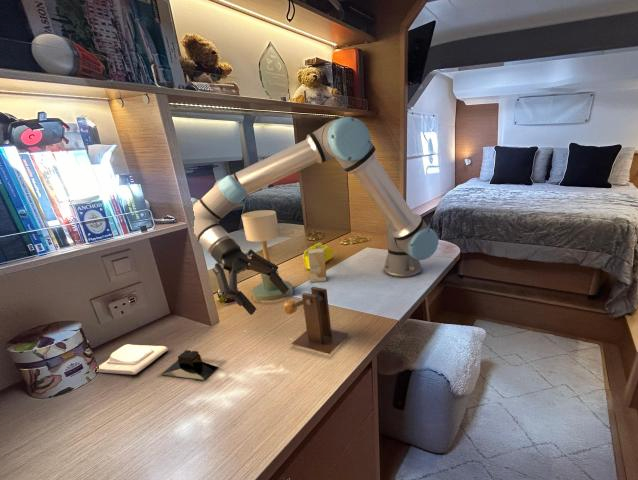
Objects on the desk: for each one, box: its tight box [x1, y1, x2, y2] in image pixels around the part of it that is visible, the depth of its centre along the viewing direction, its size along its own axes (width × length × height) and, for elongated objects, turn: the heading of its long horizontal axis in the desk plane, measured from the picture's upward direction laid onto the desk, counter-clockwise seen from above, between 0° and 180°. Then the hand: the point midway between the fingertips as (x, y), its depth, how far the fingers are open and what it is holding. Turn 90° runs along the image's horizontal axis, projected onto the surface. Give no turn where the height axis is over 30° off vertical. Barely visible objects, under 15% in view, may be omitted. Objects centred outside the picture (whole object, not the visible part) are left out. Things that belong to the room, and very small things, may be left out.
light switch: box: [95, 343, 169, 376], centre depth 89 cm, size 11×4×13 cm
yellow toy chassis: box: [302, 241, 333, 270], centre depth 150 cm, size 16×6×8 cm, turn 158°
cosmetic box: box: [307, 249, 327, 283], centre depth 133 cm, size 6×4×12 cm
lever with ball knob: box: [282, 291, 323, 315], centre depth 91 cm, size 13×4×4 cm, turn 64°
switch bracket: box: [290, 286, 349, 355], centre depth 91 cm, size 12×10×16 cm
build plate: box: [161, 349, 219, 382], centre depth 84 cm, size 12×7×5 cm, turn 78°
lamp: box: [241, 209, 294, 303], centre depth 118 cm, size 14×14×30 cm
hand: (271, 301), depth 96 cm, fingers open, 13 cm apart
